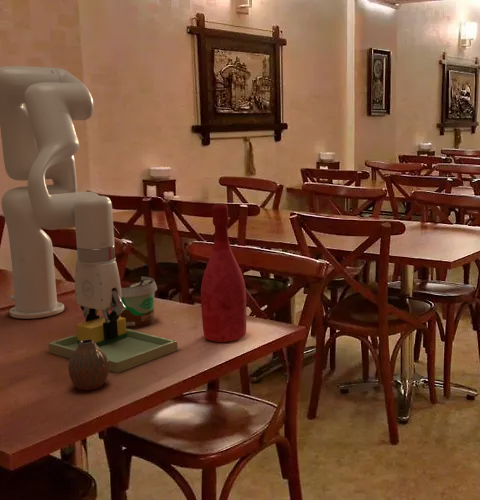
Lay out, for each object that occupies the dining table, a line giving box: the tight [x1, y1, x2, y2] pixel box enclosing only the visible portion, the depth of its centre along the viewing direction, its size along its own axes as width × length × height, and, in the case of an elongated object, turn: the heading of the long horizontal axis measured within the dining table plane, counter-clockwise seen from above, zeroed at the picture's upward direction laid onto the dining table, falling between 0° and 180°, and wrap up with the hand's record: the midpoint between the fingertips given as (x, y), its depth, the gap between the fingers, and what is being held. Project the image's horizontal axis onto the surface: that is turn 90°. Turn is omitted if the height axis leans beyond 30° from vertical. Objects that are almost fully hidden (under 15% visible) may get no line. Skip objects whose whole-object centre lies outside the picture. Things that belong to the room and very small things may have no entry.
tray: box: [48, 329, 179, 374], centre depth 148 cm, size 22×16×2 cm
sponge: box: [75, 316, 127, 347], centre depth 152 cm, size 5×9×4 cm, turn 147°
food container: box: [120, 276, 158, 330], centre depth 166 cm, size 12×6×10 cm, turn 168°
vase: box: [68, 339, 110, 391], centre depth 128 cm, size 7×7×9 cm
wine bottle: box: [200, 203, 247, 343], centre depth 155 cm, size 10×10×30 cm
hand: (102, 335), depth 153 cm, fingers closed on sponge, 5 cm apart
